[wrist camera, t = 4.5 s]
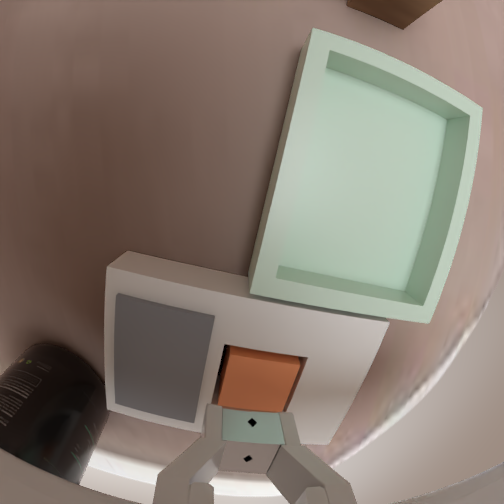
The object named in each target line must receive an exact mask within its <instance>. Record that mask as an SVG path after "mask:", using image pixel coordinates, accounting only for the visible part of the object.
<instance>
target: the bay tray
mask: <svg viewBox="0 0 504 504" xmlns="http://www.w3.org/2000/svg"><path fill="white" fill-rule="evenodd" d="M482 110H483V108H482V107H480V106H479V105H477V104H476V103H474V102H473V101H471V100H470V99H468V98H467V97H465V96H464V95H462V94H460V93H459V92H457V91H455V90H454V89H452V88H451V87H449V86H447V85H445V84H444V83H442V82H440V81H438V80H437V79H435V78H433V77H431V76H429V75H428V74H426V73H424V72H422V71H420V70H418V69H416V68H414V67H412V66H410V65H408V64H406V63H404V62H402V61H400V60H398V59H395V58H393V57H391V56H389V55H386V54H384V53H382V52H380V51H377V50H375V49H372V48H370V47H367V46H365V45H362V44H360V43H357V42H355V41H352V40H349V39H346V38H344V37H341V36H338V35H335V34H332V33H329V32H326V31H322V30H319V29H316V28H312V30H311V32H310V34H309V36H308V38H307V40H306V42H305V43H304V45H303V47H302V49H301V52H300V57H299V61H298V65H297V69H296V73H295V78H294V82H293V86H292V90H291V94H290V99H289V103H288V107H287V111H286V115H285V120H284V124H283V128H282V132H281V137H280V141H279V145H278V149H277V153H276V158H275V162H274V166H273V170H272V174H271V179H270V183H269V187H268V191H267V195H266V199H265V204H264V208H263V212H262V216H261V220H260V225H259V229H258V233H257V237H256V241H255V246H254V250H253V254H252V258H251V262H250V267H249V271H248V279H249V292H250V294H255V295H260V296H265V297H270V298H275V299H280V300H286V301H291V302H296V303H302V304H307V305H313V306H319V307H324V308H330V309H336V310H342V311H348V312H354V313H360V314H366V315H372V316H379V317H385V318H392V319H399V320H405V321H412V322H420V323H427V324H429V323H430V320H431V318H432V316H433V313H434V311H435V308H436V306H437V303H438V301H439V298H440V295H441V293H442V290H443V287H444V285H445V282H446V279H447V276H448V273H449V270H450V267H451V264H452V261H453V258H454V255H455V252H456V248H457V245H458V241H459V238H460V234H461V231H462V227H463V223H464V219H465V215H466V211H467V207H468V203H469V198H470V193H471V189H472V184H473V178H474V173H475V167H476V161H477V155H478V148H479V140H480V131H481V122H482Z"/></svg>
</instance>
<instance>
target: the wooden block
mask: <svg viewBox="0 0 504 504" xmlns="http://www.w3.org/2000/svg"><path fill="white" fill-rule="evenodd" d="M441 1H442V0H348V1H347V6H348V7H351V8H354V9H356V10H359V11H361V12H364V13H366V14H369V15H371V16H374V17H376V18H379V19H381V20H383V21H385V22H388V23H390V24H392V25H394V26H396V27H398V28H401V29H404V28H406V27H407V26H408V25H410V24H411V23H412V22H414V21H415V20H416V19H418V18H419V17H420V16H422V15H423V14H424V13H426V12H427V11H428V10H430V9H431V8H433V7H434V6H435V5H437V4H438V3H440V2H441Z"/></svg>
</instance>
